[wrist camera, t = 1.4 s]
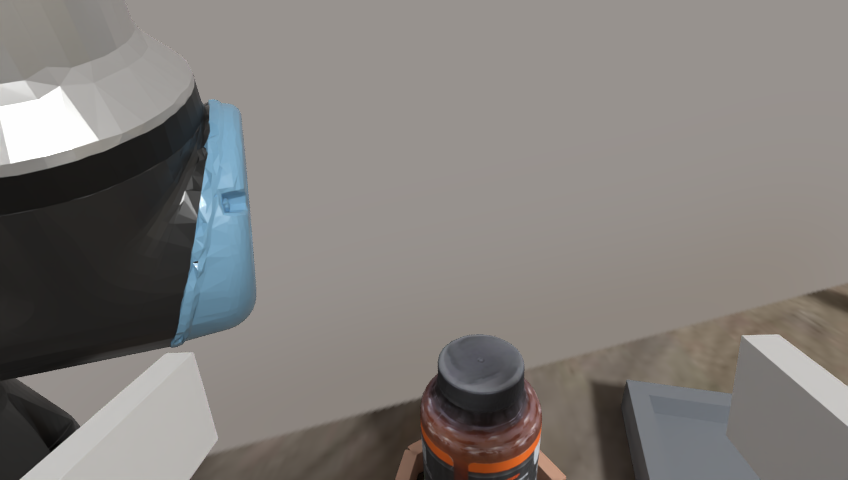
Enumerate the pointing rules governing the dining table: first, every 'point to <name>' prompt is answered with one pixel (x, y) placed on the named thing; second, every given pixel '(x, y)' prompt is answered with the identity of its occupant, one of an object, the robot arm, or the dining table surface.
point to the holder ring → (412, 465)
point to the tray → (680, 434)
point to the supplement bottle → (480, 414)
